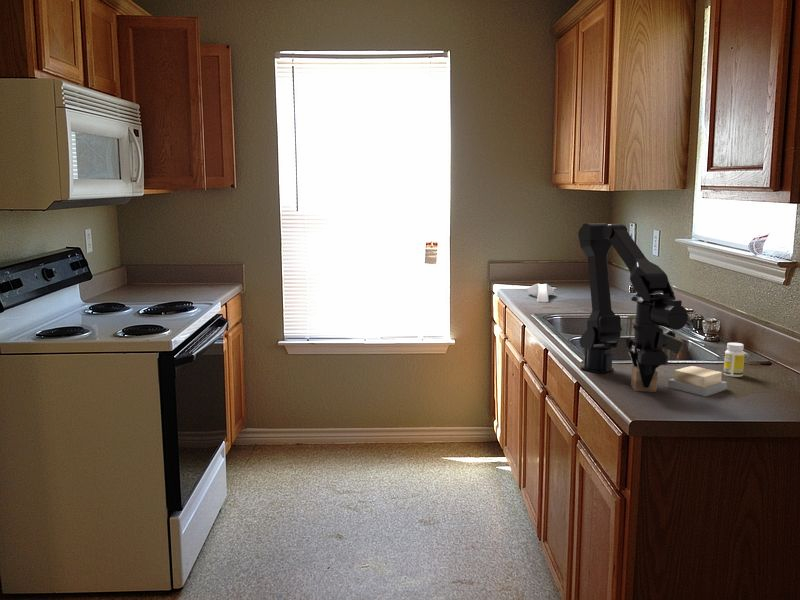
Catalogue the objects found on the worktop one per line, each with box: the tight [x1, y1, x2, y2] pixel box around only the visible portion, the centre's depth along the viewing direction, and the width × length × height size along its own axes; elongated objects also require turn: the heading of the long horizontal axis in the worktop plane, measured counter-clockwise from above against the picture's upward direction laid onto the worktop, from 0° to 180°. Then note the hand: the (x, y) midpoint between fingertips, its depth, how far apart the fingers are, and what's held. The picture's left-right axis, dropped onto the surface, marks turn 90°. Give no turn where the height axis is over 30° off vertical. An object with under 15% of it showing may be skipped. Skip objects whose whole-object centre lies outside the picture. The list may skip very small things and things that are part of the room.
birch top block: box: [673, 365, 723, 387], centre depth 188 cm, size 8×8×2 cm
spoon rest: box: [526, 283, 555, 303], centre depth 327 cm, size 24×12×7 cm, turn 174°
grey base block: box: [667, 377, 728, 397], centre depth 189 cm, size 10×10×2 cm
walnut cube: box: [630, 366, 659, 393], centre depth 188 cm, size 5×5×5 cm
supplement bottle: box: [723, 342, 746, 378], centre depth 202 cm, size 5×5×8 cm
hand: (643, 384), depth 188 cm, fingers open, 5 cm apart
